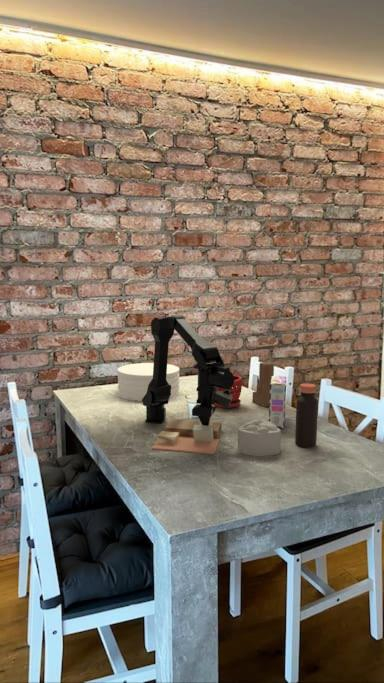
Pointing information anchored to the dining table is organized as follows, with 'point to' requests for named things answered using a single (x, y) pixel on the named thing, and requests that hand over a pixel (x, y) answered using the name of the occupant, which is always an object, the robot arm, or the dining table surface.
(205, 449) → the terracotta mat
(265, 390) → the wooden block
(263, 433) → the lumpy-topped squat cylinder
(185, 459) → the dining table surface
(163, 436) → the maple tile
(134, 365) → the plate stack
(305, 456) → the dining table surface
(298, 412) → the bottle
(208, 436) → the sage tile
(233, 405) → the plant pot
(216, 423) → the walnut board
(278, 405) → the candy box
